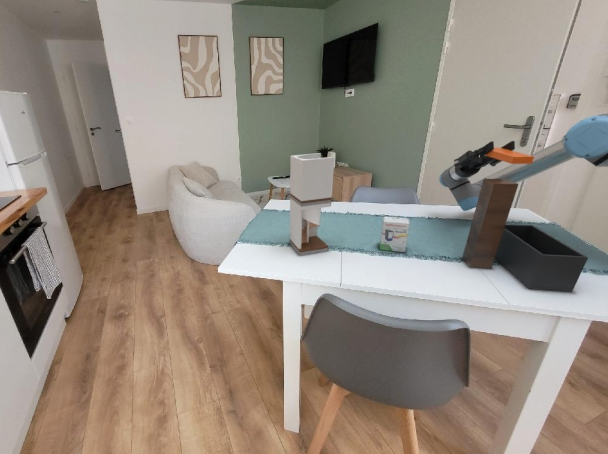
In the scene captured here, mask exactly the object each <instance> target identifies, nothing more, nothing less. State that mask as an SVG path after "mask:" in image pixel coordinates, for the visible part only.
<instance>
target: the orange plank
mask: <svg viewBox="0 0 608 454" xmlns="http://www.w3.org/2000/svg"><path fill="white" fill-rule="evenodd" d="M486 156H489V157H492V158H495V159H498V160H501V161H502V162H505V163H508V164H510V165H512V164H532V162H533V159H534V156H530V154H527V153H523V152H522V153H521V152H518V151H515V150H512V151H510V150H507V149H503V148H501V147H494V150H492V151H491V152H489V153H487V154H486Z"/></svg>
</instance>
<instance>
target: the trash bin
mask: <svg viewBox="0 0 608 454" xmlns="http://www.w3.org/2000/svg"><path fill="white" fill-rule="evenodd" d="M588 259H589V257H588V256H586V255H584V253H581V252H580V251H578V250H576V249H574V248H573V247H571V246H570V245H567V244H566V243H564V242H563V241H561V240H559V239H557V238H555V237H554V236H552V235H550V234H549V233H547V232H545V231H543V230H542V229H540V228H538V227H537V226H535V225H533V224H532V225H531V224H510V223H509V224H507V223H506V224H505V227H504V231H503V234H502V237H501V240H500V243H499V246H498V249H497V252H496V255H495V258H494V260H496V261H497V262H498V263H499V264H500V265H501V266H503V268H505V269H506V270H507V271H508V272H509V273H510V274H512V276H514V277H515V278H516V279H517V280H518V281H519V282H521V284H523V285H524V286H525V287H526V288H527V289H529V290H539V291H553V292H564V293H565V292H566V293H573V291H574V289H575V286H576V285H577V283H578V280H579V278H580V276H581V274H582V272H583V269H584V267H585V266H586V263H587V261H588Z"/></svg>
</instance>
